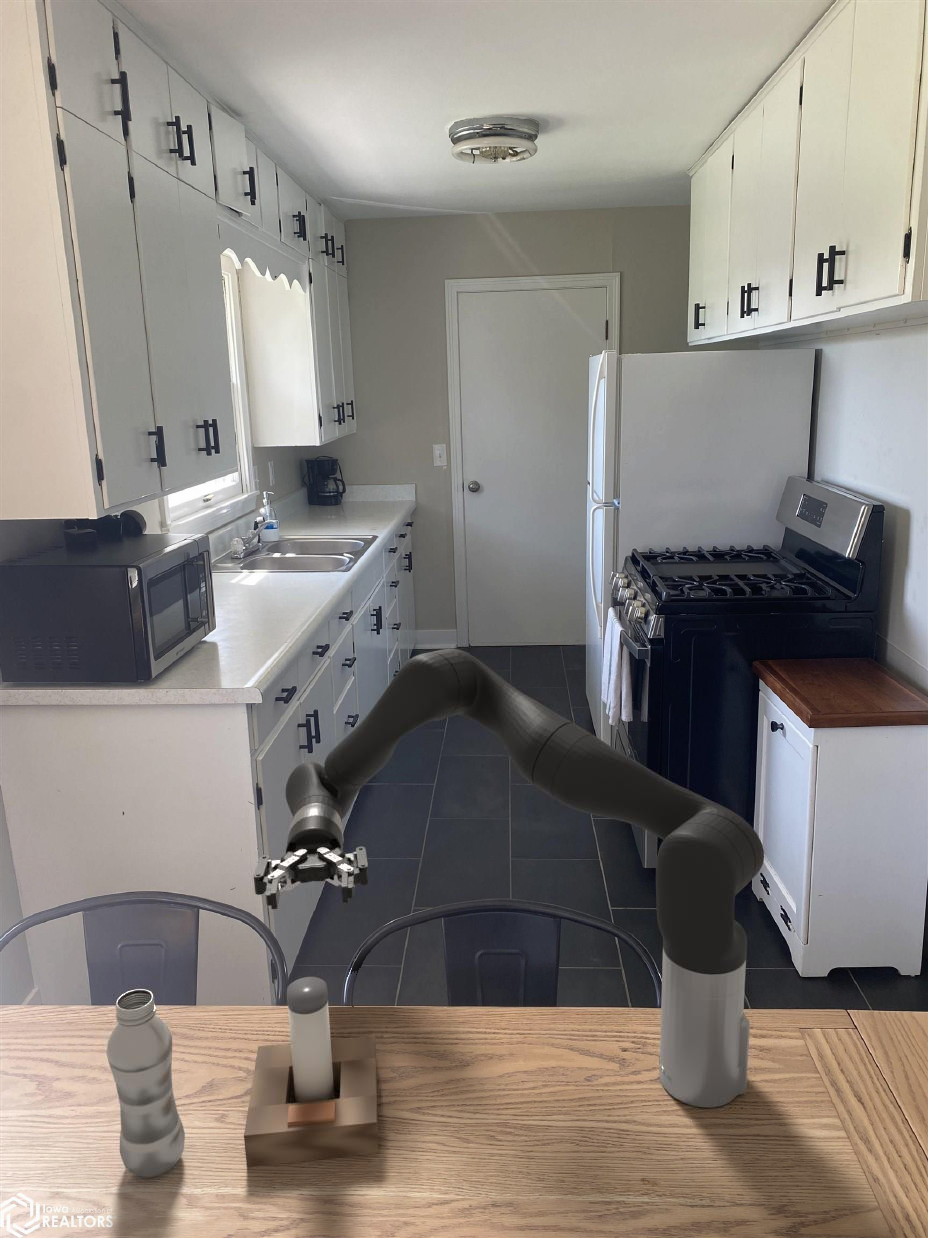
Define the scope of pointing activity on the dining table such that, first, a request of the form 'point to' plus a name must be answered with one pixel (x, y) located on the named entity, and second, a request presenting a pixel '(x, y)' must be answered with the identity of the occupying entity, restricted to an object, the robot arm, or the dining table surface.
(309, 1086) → the plug
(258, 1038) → the dining table surface
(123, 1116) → the plastic bottle
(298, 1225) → the dining table surface
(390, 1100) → the dining table surface
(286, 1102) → the socket block
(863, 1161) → the dining table surface
